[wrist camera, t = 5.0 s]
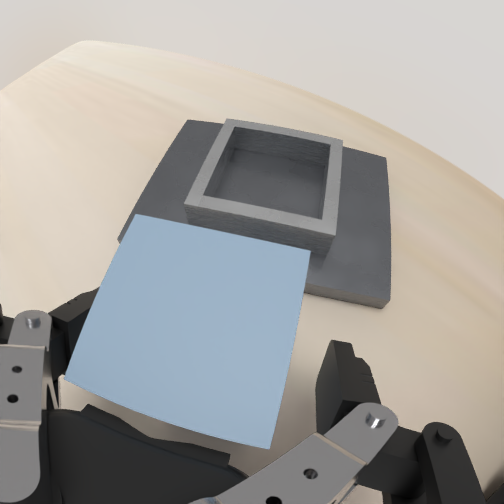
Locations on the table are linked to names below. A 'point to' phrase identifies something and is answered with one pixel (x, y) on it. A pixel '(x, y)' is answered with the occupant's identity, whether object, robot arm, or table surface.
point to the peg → (194, 329)
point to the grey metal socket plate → (282, 200)
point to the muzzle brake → (497, 497)
